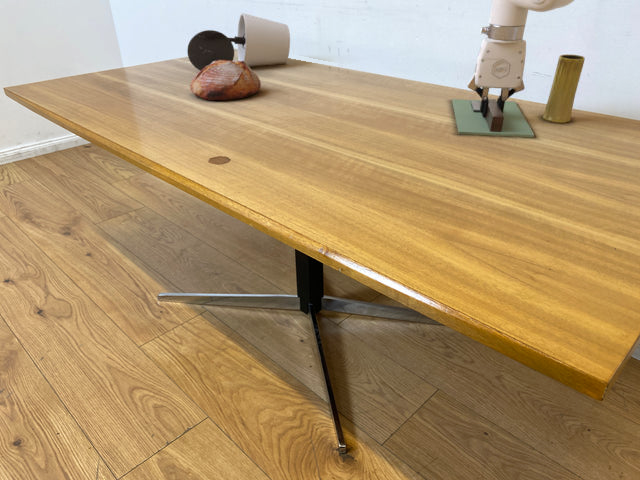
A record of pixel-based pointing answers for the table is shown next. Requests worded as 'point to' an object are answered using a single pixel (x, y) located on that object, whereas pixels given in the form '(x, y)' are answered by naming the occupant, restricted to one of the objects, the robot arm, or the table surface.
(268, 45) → the light fixture
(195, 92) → the bread
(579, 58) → the vase
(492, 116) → the spatula
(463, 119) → the mat
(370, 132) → the table surface
